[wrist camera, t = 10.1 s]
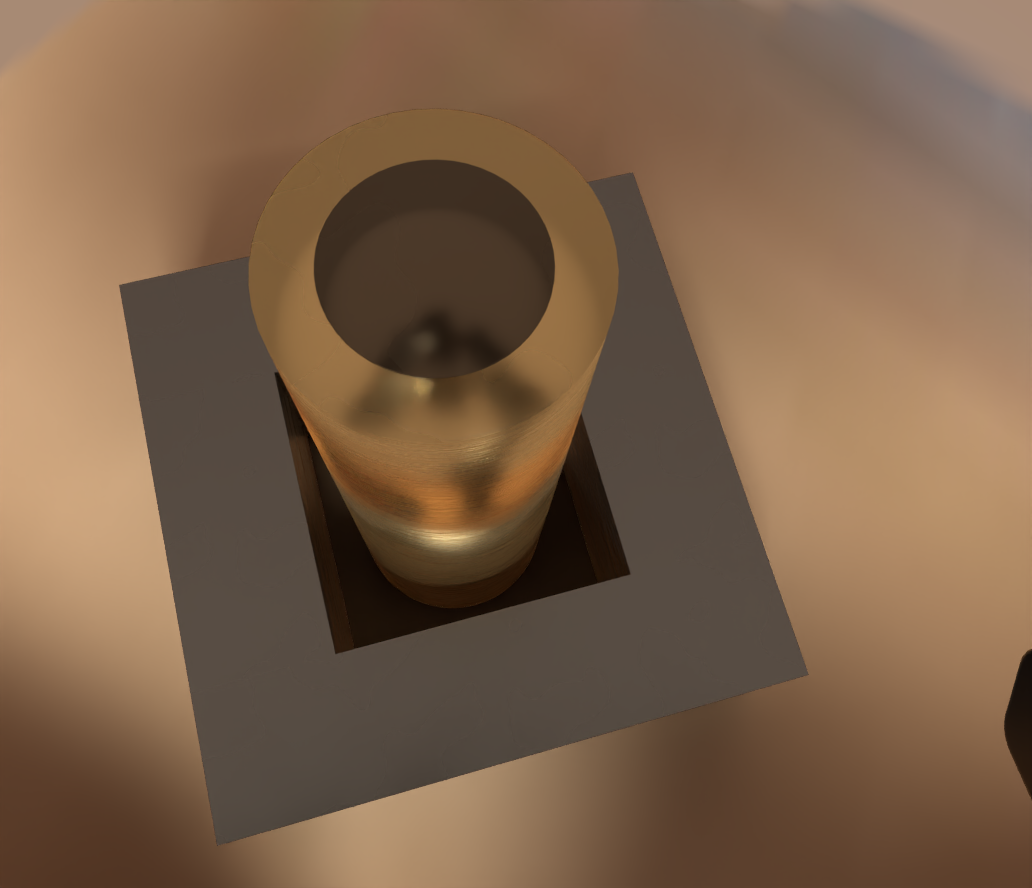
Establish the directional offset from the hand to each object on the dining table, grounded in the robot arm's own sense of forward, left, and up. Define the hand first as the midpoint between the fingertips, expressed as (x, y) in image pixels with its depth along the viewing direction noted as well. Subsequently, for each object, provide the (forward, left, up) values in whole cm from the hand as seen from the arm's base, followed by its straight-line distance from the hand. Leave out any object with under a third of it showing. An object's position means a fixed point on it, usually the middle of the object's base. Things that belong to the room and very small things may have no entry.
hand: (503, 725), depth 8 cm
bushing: (+5, -1, -14) cm, 14 cm away
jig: (+5, -1, -14) cm, 14 cm away
